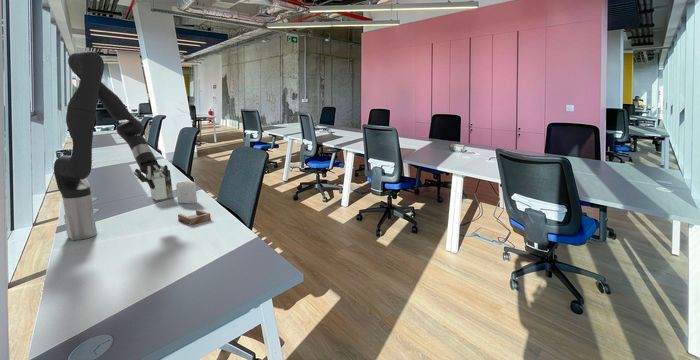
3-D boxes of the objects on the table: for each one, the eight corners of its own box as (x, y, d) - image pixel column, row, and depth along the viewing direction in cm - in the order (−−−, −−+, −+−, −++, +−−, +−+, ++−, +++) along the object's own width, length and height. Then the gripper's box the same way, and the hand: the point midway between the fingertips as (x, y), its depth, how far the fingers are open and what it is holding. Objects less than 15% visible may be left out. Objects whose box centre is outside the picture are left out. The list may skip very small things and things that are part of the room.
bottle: (156, 200, 156) (153, 171, 153) (151, 198, 158) (148, 170, 156) (167, 197, 159) (164, 170, 157) (162, 196, 162) (159, 168, 159)
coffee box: (168, 195, 211) (165, 168, 208) (173, 197, 208) (170, 169, 204) (152, 198, 205) (148, 170, 201) (157, 200, 201) (153, 172, 197)
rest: (190, 225, 162) (189, 219, 161) (178, 220, 168) (177, 214, 167) (210, 219, 169) (210, 213, 169) (198, 215, 176) (198, 209, 175)
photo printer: (198, 202, 198) (196, 180, 196) (194, 204, 194) (192, 181, 192) (181, 201, 200) (179, 179, 197) (176, 203, 196) (174, 181, 193)
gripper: (128, 153, 154) (144, 184, 149) (162, 149, 165) (178, 179, 160) (125, 164, 158) (140, 195, 153) (158, 160, 169) (174, 189, 164)
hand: (160, 186), depth 157 cm, fingers closed on bottle, 4 cm apart
